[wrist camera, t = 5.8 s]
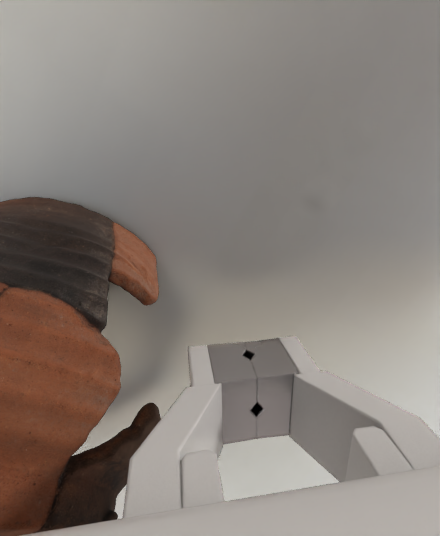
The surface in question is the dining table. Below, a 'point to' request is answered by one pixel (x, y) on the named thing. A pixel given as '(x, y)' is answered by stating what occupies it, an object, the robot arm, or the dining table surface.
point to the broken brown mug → (63, 363)
